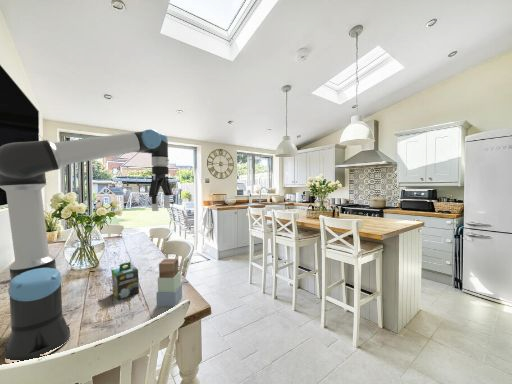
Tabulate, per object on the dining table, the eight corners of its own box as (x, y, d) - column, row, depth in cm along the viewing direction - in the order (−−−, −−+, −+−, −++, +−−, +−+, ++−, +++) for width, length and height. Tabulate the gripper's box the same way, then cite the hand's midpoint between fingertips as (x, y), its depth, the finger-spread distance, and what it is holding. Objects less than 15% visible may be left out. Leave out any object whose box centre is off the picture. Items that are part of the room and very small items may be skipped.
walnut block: (173, 277, 95) (173, 263, 95) (159, 277, 95) (158, 263, 95) (178, 272, 101) (178, 258, 101) (165, 272, 101) (164, 258, 101)
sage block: (174, 292, 95) (174, 278, 95) (157, 292, 95) (157, 277, 95) (180, 284, 102) (180, 271, 102) (165, 284, 102) (164, 271, 102)
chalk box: (133, 287, 113) (132, 257, 113) (139, 293, 107) (138, 262, 106) (111, 293, 107) (110, 262, 106) (117, 300, 100) (116, 267, 100)
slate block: (175, 306, 95) (175, 292, 95) (156, 306, 95) (156, 292, 95) (182, 297, 103) (181, 284, 103) (164, 297, 103) (164, 284, 103)
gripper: (156, 163, 99) (157, 212, 100) (176, 167, 124) (177, 206, 125) (139, 164, 99) (140, 212, 100) (163, 168, 124) (164, 206, 125)
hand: (161, 209), depth 112 cm, fingers open, 13 cm apart
